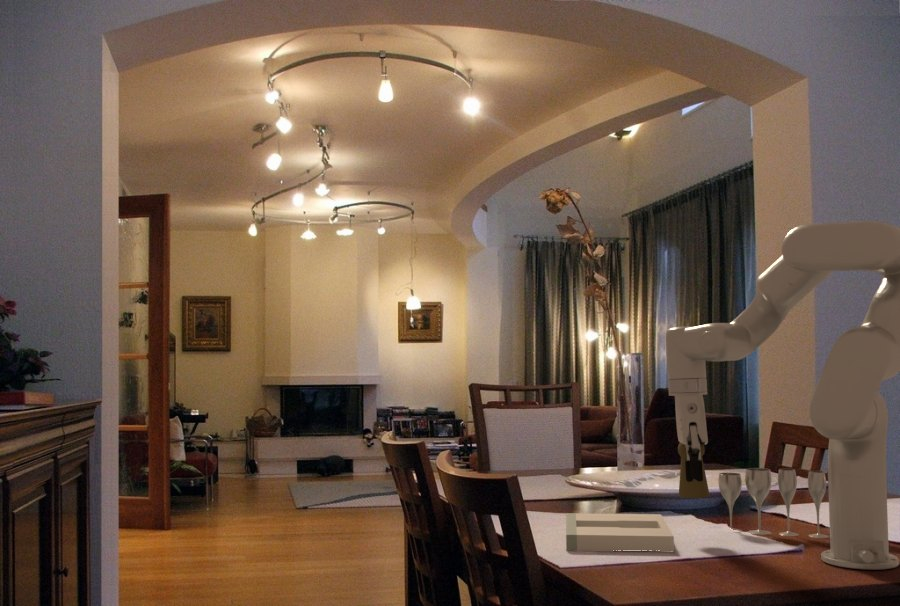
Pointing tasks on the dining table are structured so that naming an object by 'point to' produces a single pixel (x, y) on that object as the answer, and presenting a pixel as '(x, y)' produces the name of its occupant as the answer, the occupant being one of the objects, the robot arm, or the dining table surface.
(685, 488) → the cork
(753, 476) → the goblet set
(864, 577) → the dining table surface
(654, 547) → the beige flat rimmed tray
